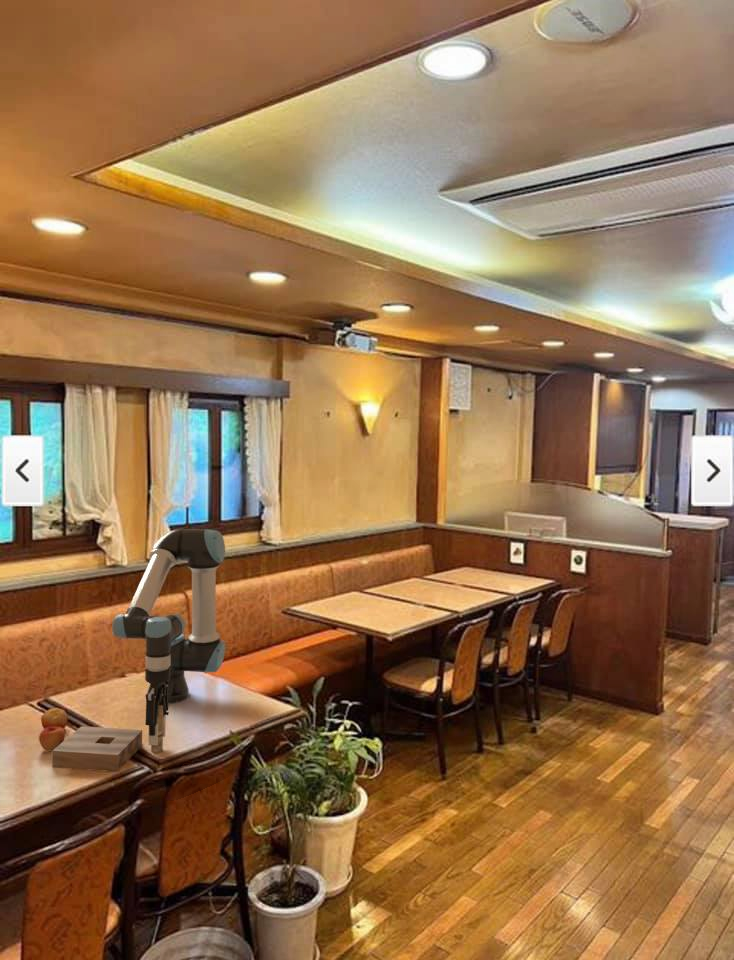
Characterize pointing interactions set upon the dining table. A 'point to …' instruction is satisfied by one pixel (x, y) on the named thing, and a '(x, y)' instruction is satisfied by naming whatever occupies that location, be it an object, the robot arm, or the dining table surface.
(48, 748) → the apple
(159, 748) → the peg
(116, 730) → the board
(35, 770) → the dining table surface
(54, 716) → the fruit
